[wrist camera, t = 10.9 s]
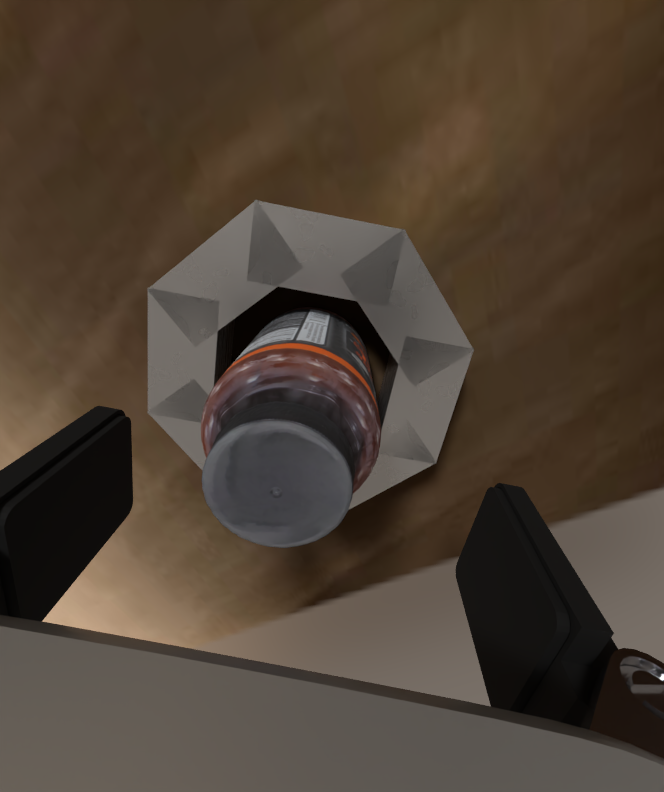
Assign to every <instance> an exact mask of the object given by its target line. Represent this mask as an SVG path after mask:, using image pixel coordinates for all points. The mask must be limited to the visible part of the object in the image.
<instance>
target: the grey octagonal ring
mask: <svg viewBox="0 0 664 792" xmlns="http://www.w3.org/2000/svg"><path fill="white" fill-rule="evenodd" d="M405 231H406V230H404V229H397V228H392V227H387V226H382V225H377V224H372V223H367V222H362V221H357V220H352V219H347V218H342V217H336V216H331V215H326V214H321V213H316V212H311V211H306V210H301V209H296V208H291V207H286V206H281V205H276V204H271V203H266V202H262V201H259V200H254V202H253V203H252V204H251V205H250V206H248V207H247V208H246V209H245V210H244V211H242V212H241V213H240V214H239V215H237V216H236V217H235V218H234V219H233V220H231V221H230V222H229V223H228V224H226V225H225V226H224V227H223V228H222V229H220V230H219V231H218V232H217V233H215V234H214V235H213V236H212V237H211V238H209V239H208V240H207V241H206V242H205V243H203V244H202V245H201V246H200V247H198V248H197V249H196V250H195V251H194V252H192V253H191V254H190V255H189V256H187V257H186V258H185V259H184V260H183V261H181V262H180V263H179V264H178V265H176V266H175V267H174V268H173V269H172V270H170V271H169V272H168V273H167V274H166V275H164V276H163V277H162V278H161V279H159V280H158V281H157V282H156V283H155V284H153V285H152V286H151V287H149V288H148V289H147V290H148V414H150V415H151V416H152V418H153V419H154V420H155V421H156V422H157V423H158V424H159V425H160V426H161V427H162V428H163V429H164V430H165V431H166V432H167V433H168V434H169V436H170V437H171V438H172V439H173V440H174V441H175V442H176V443H177V444H178V445H179V446H180V447H181V448H182V449H183V450H184V451H185V453H186V454H187V455H188V456H189V457H190V458H191V459H192V460H193V461H194V462H195V463H196V464H197V465H198V466H199V467H200V468H201V470H202V471H203V467H204V464H205V461H206V456H205V453H204V450H203V446H202V441H201V419H202V414H203V409H204V406H205V403H206V400H207V398H208V396H209V394H210V392H211V391H212V389H213V387H214V386H215V384H216V383H217V381H218V380H219V379H220V378H221V376H222V375H223V374H224V373H225V371H226V370H227V369H228V368H229V367H230V366H231V362H232V350H233V339H234V327H235V318H236V317H237V316H239V315H240V314H241V313H243V312H244V311H245V310H247V309H248V308H249V307H251V306H252V305H254V304H255V303H256V302H258V301H259V300H260V299H262V298H263V297H264V296H266V295H267V294H268V293H270V292H271V291H272V290H274V289H275V288H277V287H278V286H279V287H284V288H289V289H295V290H300V291H305V292H310V293H316V294H321V295H326V296H331V297H337V298H342V299H347V300H353V301H357V302H358V303H359V305H360V306H361V308H362V310H363V311H364V313H365V314H366V316H367V317H368V319H369V320H370V322H371V323H372V325H373V326H374V328H375V329H376V331H377V332H378V334H379V335H380V337H381V338H382V340H383V341H384V343H385V345H386V346H387V348H388V349H389V351H390V353H389V358H388V362H387V366H386V370H385V374H384V378H383V382H382V386H381V390H380V394H379V398H378V402H377V403H378V412H379V418H380V424H381V442H380V448H379V454H378V458H377V461H376V463H375V465H374V467H373V469H372V471H371V473H370V475H369V477H368V478H367V479H366V481H365V482H364V483H363V484H362V486H361V487H360V488H359V489H358V490H357V491H356V492H355V493H354V494H353V495H352V500H351V503H350V507H349V509H351V508H353V507H355V506H357V505H358V504H360V503H362V502H364V501H366V500H368V499H370V498H372V497H373V496H375V495H377V494H379V493H381V492H383V491H385V490H387V489H388V488H390V487H392V486H394V485H396V484H398V483H400V482H401V481H403V480H405V479H407V478H409V477H411V476H413V475H415V474H416V473H418V472H420V471H422V470H424V469H426V468H428V467H430V466H431V465H433V464H436V463H437V462H436V461H437V458H438V455H439V452H440V449H441V446H442V443H443V440H444V437H445V434H446V431H447V428H448V425H449V422H450V419H451V416H452V413H453V410H454V407H455V404H456V401H457V398H458V395H459V392H460V389H461V386H462V383H463V380H464V377H465V374H466V371H467V368H468V365H469V362H470V359H471V356H472V353H473V351H474V348H473V347H472V346H471V345H470V343H469V341H468V339H467V338H466V336H465V334H464V332H463V331H462V329H461V327H460V325H459V324H458V322H457V320H456V319H455V317H454V315H453V313H452V312H451V310H450V308H449V306H448V305H447V303H446V301H445V299H444V298H443V296H442V294H441V293H440V291H439V289H438V287H437V286H436V284H435V282H434V280H433V279H432V277H431V275H430V273H429V272H428V270H427V268H426V267H425V265H424V263H423V261H422V260H421V258H420V256H419V254H418V253H417V251H416V249H415V247H414V246H413V244H412V242H411V241H410V239H409V237H408V235H407V234H406V232H405ZM349 509H348V510H349Z"/></svg>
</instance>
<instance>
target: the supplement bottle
mask: <svg viewBox="0 0 664 792" xmlns="http://www.w3.org/2000/svg"><path fill="white" fill-rule="evenodd" d="M201 441H202V446H203V450H204V453H205V456H206V461H205V464H204V467H203V473H202V487H203V492H204V495H205V500H206V502H207V504H208V506H209V507H210V508H211V510H212V512H213V514H214V516H215V517H216V518H217V519H218V520H219V522H220V523H221V524H222V525H224V526H225V527H226V528H228V529H229V530H230V531H231V532H233V533H235V534H237V535H238V536H239V537H241V538H243V539H246V540H248V541H251V542H253V543H257V544H260V545H264V546H268V547H280V548H288V547H295V546H301V545H304V544H308V543H311V542H314V541H317V540H318V539H320V538H322V537H324V536H326V535H327V534H329V533H330V532H331V531H332V530H334V529H335V528H336V527H337V526H338V525H339V524H340V523H341V521H342V520H343V518H344V517H345V515H346V513H347V512H348V509H349V507H350V503H351V500H352V495H353V494H354V493H355V492H356V491H357V490H358V489H359V488H360V487H361V486H362V484H363V483H364V482H365V481H366V479H367V478H368V477H369V475H370V473H371V471H372V469H373V467H374V465H375V463H376V461H377V458H378V454H379V448H380V442H381V424H380V418H379V412H378V403H377V400H376V394H375V389H374V385H373V380H372V374H371V369H370V363H369V357H368V353H367V350H366V347H365V345H364V343H363V341H362V339H361V337H360V336H359V334H358V333H357V331H356V330H355V329H354V327H353V326H352V325H351V324H350V323H349V322H347V321H346V320H345V319H344V318H343V317H341V316H339V315H337V314H336V313H334V312H331V311H328V310H325V309H321V308H314V307H301V308H296V309H292V310H289V311H287V312H284V313H282V314H280V315H278V316H277V317H276V318H274V319H273V320H272V321H271V322H269V323H268V324H267V325H266V326H265V327H264V328H263V329H262V330H261V331H260V333H259V334H258V335H257V336H256V337H255V338H254V339H253V341H252V342H251V343H250V344H249V345H248V346H247V347H246V348H245V350H244V351H243V352H242V353H241V354H240V355H239V357H238V358H237V359H236V360H235V361H234V362H233V363H232V365H231V366H230V367H229V368H228V369H227V370H226V371H225V373H224V374H223V375H222V376H221V378H220V379H219V380H218V381H217V383H216V384H215V386H214V387H213V389H212V391H211V392H210V394H209V396H208V398H207V400H206V403H205V406H204V409H203V414H202V419H201Z"/></svg>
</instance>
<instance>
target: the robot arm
mask: <svg viewBox="0 0 664 792" xmlns="http://www.w3.org/2000/svg"><path fill="white" fill-rule="evenodd" d="M132 504H133V482H132V442H131V420H130V418H129V417H125V413H124V412H123V411H122V410H119V409H113V408H108V407H103V406H97V407H95V408H93V409H92V410H90V411H89V412H87V413H86V414H84V415H83V416H81V417H80V418H78V419H77V420H75V421H74V422H72V423H71V424H69V425H68V426H66V427H65V428H63V429H62V430H60V431H59V432H57V433H56V434H55V435H53V436H52V437H50V438H49V439H47V440H46V441H44V442H43V443H41V444H40V445H38V446H37V447H35V448H34V449H32V450H31V451H29V452H28V453H26V454H25V455H23V456H22V457H20V458H19V459H17V460H16V461H14V462H13V463H11V464H10V465H8V466H7V467H5V468H4V469H2V470H1V471H0V792H664V663H662V662H660V661H659V660H657V659H655V658H653V657H652V656H650V655H648V654H646V653H643V652H640V651H637V650H634V649H626V648H622V649H619V650H618V648H617V647H616V645H615V643H614V642H613V640H612V638H611V637H612V635H613V631H612V630H611V628H610V626H609V625H608V623H607V622H606V620H605V618H604V617H603V615H602V614H601V612H600V610H599V609H598V607H597V605H596V604H595V603H594V601H593V599H592V598H591V596H590V594H589V593H588V591H587V590H586V588H585V586H584V585H583V583H582V581H581V580H580V578H579V577H578V575H577V573H576V572H575V570H574V569H573V567H572V566H571V564H570V562H569V561H568V559H567V557H566V556H565V554H564V553H563V551H562V549H561V548H560V546H559V545H558V543H557V541H556V540H555V538H554V537H553V535H552V533H551V532H550V530H549V529H548V527H547V525H546V524H545V522H544V520H543V519H542V517H541V516H540V514H539V512H538V511H537V509H536V508H535V506H534V504H533V503H532V501H531V500H530V498H529V496H528V495H527V493H526V492H525V490H524V489H523V488H522V487H518V486H512V485H507V484H502V483H498V484H497V485H496V486H495V487H494V488H493V487H490V488H489V489H488V490H487V492H486V494H485V497H484V499H483V501H482V504H481V506H480V509H479V511H478V514H477V516H476V518H475V521H474V523H473V526H472V528H471V531H470V533H469V535H468V538H467V540H466V543H465V545H464V548H463V550H462V552H461V555H460V557H459V560H458V562H457V565H456V579H457V582H458V586H459V590H460V593H461V597H462V601H463V605H464V608H465V612H466V616H467V620H468V623H469V627H470V631H471V634H472V638H473V642H474V645H475V649H476V653H477V656H478V660H479V664H480V667H481V671H482V675H483V678H484V682H485V686H486V690H487V693H488V697H489V701H490V704H491V707H489V706H485V705H480V704H475V703H471V702H466V701H461V700H456V699H451V698H445V697H440V696H435V695H430V694H425V693H420V692H414V691H410V690H405V689H399V688H394V687H389V686H384V685H379V684H374V683H368V682H363V681H358V680H353V679H348V678H343V677H338V676H332V675H327V674H321V673H317V672H311V671H306V670H301V669H296V668H290V667H285V666H280V665H274V664H269V663H264V662H258V661H253V660H248V659H243V658H237V657H232V656H227V655H221V654H216V653H210V652H205V651H200V650H194V649H189V648H184V647H179V646H173V645H168V644H162V643H157V642H151V641H146V640H140V639H135V638H129V637H124V636H118V635H113V634H107V633H102V632H96V631H91V630H85V629H80V628H74V627H69V626H63V625H58V624H52V623H47V622H42V620H43V619H44V618H45V617H46V616H47V614H48V613H49V612H50V611H51V609H52V608H53V607H54V606H55V604H56V603H57V602H58V601H59V600H60V598H61V597H62V596H63V595H64V593H65V592H66V591H67V590H68V588H69V587H70V586H71V585H72V584H73V582H74V581H75V580H76V579H77V577H78V576H79V575H80V574H81V572H82V571H83V570H84V569H85V568H86V566H87V565H88V564H89V563H90V561H91V560H92V559H93V558H94V557H95V555H96V554H97V553H98V552H99V550H100V549H101V548H102V547H103V545H104V544H105V543H106V542H107V541H108V539H109V538H110V537H111V536H112V534H113V533H114V532H115V531H116V529H117V528H118V527H119V526H120V525H121V523H122V522H123V521H124V520H125V518H126V517H127V516H128V514H129V513H130V511H131V508H132Z"/></svg>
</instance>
